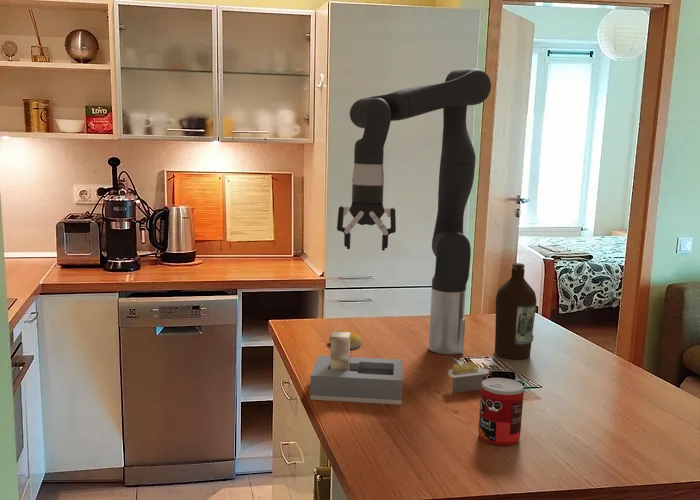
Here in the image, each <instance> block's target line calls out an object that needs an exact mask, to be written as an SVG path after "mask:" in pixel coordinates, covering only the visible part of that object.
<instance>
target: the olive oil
mask: <svg viewBox="0 0 700 500" xmlns="http://www.w3.org/2000/svg"><path fill="white" fill-rule="evenodd" d="M511 265H512V267H511V276H510V278H509V279H508V280H507V281H505V283H503V284H502V285H501V287H499V288H498V290H497V292H496V296H495V328H494V329H495V330H494V334H495V337H494V354H495V355H496V356H498V357H501V358H503V359H509V360H526V359H529V358H530V357H531V348H532V343H533V341H534V334H533V332H534V325H535V317H536V310H537V296H536V295H537V294H536V293H535V290H534V289H533V288H532V287H531V285H530V284H529V283H528V282H527V281H526V279H525V264H524V263H520V262H519V263H518V262H516V263H515V262H514V263H512V264H511Z"/></svg>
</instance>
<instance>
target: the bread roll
mask: <svg viewBox="0 0 700 500" xmlns="http://www.w3.org/2000/svg"><path fill="white" fill-rule="evenodd" d="M335 332H350V331H349V330H345V329H340V330H336V331H335ZM331 336H332V334H331V335H330V337H329V344H331ZM361 345H362V339H361V336H360V335H358V334H356V333H352V332H350V350H354V349H358V348H359V347H361Z"/></svg>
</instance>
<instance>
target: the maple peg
mask: <svg viewBox="0 0 700 500" xmlns="http://www.w3.org/2000/svg"><path fill="white" fill-rule="evenodd" d="M331 335H332V336H331ZM331 335H330V336H331V343H330V356H331V362H330V370H341V371H349V362H350V357H351V354H350V353H351V349H350V331H349V332H336V331H332V333H331Z"/></svg>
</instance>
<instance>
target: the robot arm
mask: <svg viewBox="0 0 700 500" xmlns="http://www.w3.org/2000/svg"><path fill="white" fill-rule="evenodd" d="M491 89H492V83H491V79H490V76H489V75H488V73H486V72H485V71H484V70H482V69H480V68H462V69H454V70H452V71H450V72H449V73H448V74H447V75H446V77H445V80H444V81H443V82H438V83H432V84H425V85H418V86H412V87H407V88H403V89H400V90H396V91H393V92H390V93H387V94H381V95H375V96H374V95H373V96H368V97H363V98H360V99H357V100H356V101H354V103H353V104H351V107H350V109H349V119H350V121H351V123H353V125H355V126H356V127H358V128H360V129H363V135H362V137H361V138H360V139H357V140H356V141H355V144H354V148H353V149H354V151H353V152H354V153H353V154H354V155H353V158H354V159H353V170H352V179H351V182H352V184H351V185H352V188H351V189H352V190H351V191H352V192H351V205H350V206H344V205H340V206H339V207H338V211H337V212H338V213H337V223H336V230H337V231H339V232H341V233H343V234H344V238H343V240H344V242H343V245H344V247H345V248H346V250H350V249H351V238H352V237H351V236H352V235H351V231H352V230H353V229H354V227H355V226H356V224H358V225H360V226H364V225H368V226H375V225H376V226H377V227H378V229H379V230H380V231H381V233H382V236H381V237H382V238H381V239H382V240H381V251H386V249H388V247H389V235H391V234H395V233H396V231H397V229H396V228H397V227H396V226H397V225H396V224H397V223H396V222H397V221H396V220H397V219H396V218H397V217H396V208H395V207H390V208H389V207H388V208H387V207H386V208H385V207H384V186H385V185H384V183H385V173H384V153H385V151H384V149H385V148H384V147H385V145H386V144H385V143H386V140H387V138H388V133H389V130H390V126H391V122H393V121H394V122H395V121H396V122H397V121H404V120H407V119H410V118H415V117H417V116H421V115H424V114H427V113H431V112H434V111H437V110H441V109H443V110H442V111H443V112H442V114H443V115H442V116H443V117H442V118H443V122H442V123H443V124H442V125H443V126H442V137H441V138H442V141H441V153H440V162H439V174H438V189H437V190H438V191H437V192H438V193H437V213H436V219H435V223H434V224H435V226H434V229H433V233H432V234H433V235H432V239H431V250H432V252H433V254H434V256H435V265H434V266H435V267H434V268H435V269H434V276H433V277H432V279H431V293H430V295H431V296H430V297H431V298H430V314H429V315H430V317H429V336H428V338H429V339H428V350H430V352H433V353H436V354H440V355H457V354H464V349H465V347H464V346H465V332H466V331H465V330H466V318H465V313H466V296H467V295H466V294H467V283H468V280H469V277H470V267H471V256H472V255H471V254H472V252H471V251H472V249H471V243H470V241H469V238H468V237H467V236H466V235H465V234H464V218H465V217H464V215H465V211H466V210H465V209H466V205H467V204H468V201H469V197H470V194H471V192H472V189H473V184H474V179H475V169H476V159H477V158H476V153H475V149H474V146H473V144H472V140H471V138H470V135H469V131H468V128H467V111H468V110H467V109H468V106H476V105H479V104H482V103H483V102H485V101H486V100H487V99H488V97H489V96H490V93H491ZM348 212H349V214H350V215H351V216H352V218H353V219H352V220H351V222H349V224H348V225H347V226H344V218H345V216H347V214H348ZM384 214H386V216H387V217H388V218H390V227H389V228H387V227H386V226H385V224H384V222H383V220H382V219H381V218H382V216H383V215H384Z"/></svg>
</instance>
